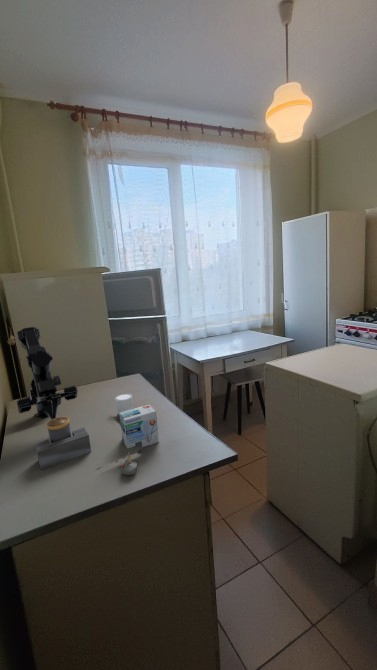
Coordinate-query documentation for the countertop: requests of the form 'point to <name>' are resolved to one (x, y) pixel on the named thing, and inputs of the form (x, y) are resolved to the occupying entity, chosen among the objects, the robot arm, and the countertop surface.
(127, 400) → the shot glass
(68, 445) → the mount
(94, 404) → the countertop surface
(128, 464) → the figurine
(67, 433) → the gray cup
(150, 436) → the light bulb box
